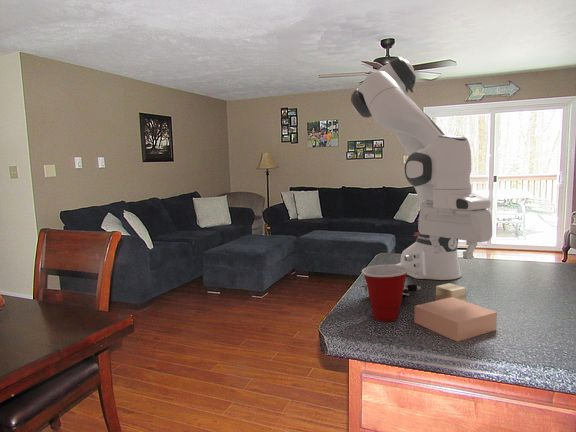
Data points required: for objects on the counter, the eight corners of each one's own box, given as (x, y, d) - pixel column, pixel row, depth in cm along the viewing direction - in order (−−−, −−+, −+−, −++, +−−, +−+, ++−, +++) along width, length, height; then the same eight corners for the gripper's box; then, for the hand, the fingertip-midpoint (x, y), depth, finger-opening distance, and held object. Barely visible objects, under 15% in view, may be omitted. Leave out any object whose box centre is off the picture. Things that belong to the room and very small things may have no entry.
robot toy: (382, 290, 123) (358, 300, 111) (382, 275, 123) (358, 283, 111) (423, 297, 116) (401, 308, 104) (423, 281, 115) (402, 291, 103)
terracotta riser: (414, 322, 95) (414, 305, 94) (451, 313, 100) (452, 297, 100) (457, 341, 84) (457, 322, 84) (496, 329, 90) (497, 312, 89)
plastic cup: (366, 307, 106) (366, 261, 104) (410, 312, 102) (411, 264, 100) (356, 322, 96) (356, 271, 94) (404, 328, 92) (405, 275, 90)
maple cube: (435, 304, 107) (435, 286, 106) (449, 301, 109) (449, 283, 108) (451, 310, 102) (451, 291, 102) (465, 307, 104) (465, 287, 104)
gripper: (412, 200, 110) (413, 251, 111) (477, 203, 92) (477, 264, 93) (430, 198, 113) (430, 248, 114) (496, 201, 95) (496, 260, 96)
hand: (452, 255), depth 104 cm, fingers open, 8 cm apart
